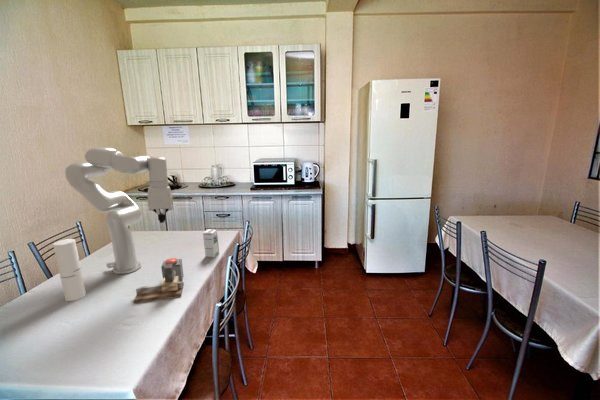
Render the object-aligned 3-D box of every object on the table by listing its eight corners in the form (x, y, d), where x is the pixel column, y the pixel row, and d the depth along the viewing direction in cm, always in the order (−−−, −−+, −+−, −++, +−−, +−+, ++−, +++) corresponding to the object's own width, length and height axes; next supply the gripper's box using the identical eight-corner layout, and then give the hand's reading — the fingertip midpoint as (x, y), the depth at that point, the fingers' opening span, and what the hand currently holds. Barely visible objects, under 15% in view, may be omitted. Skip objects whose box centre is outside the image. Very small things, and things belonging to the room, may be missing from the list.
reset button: (166, 276, 135) (164, 263, 134) (167, 270, 140) (166, 258, 139) (178, 274, 137) (176, 261, 135) (179, 269, 141) (178, 257, 140)
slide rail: (134, 303, 121) (133, 294, 120) (140, 290, 130) (139, 282, 129) (181, 296, 125) (180, 287, 125) (183, 284, 135) (182, 276, 134)
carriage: (162, 292, 125) (159, 270, 123) (164, 285, 131) (161, 264, 128) (177, 290, 127) (174, 268, 124) (179, 283, 132) (176, 262, 130)
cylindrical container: (89, 293, 129) (79, 239, 123) (73, 302, 122) (60, 246, 116) (78, 290, 131) (67, 238, 125) (61, 299, 125) (48, 244, 119)
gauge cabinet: (163, 284, 135) (161, 266, 133) (165, 278, 141) (163, 261, 139) (182, 282, 137) (180, 264, 135) (183, 276, 143) (181, 258, 141)
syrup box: (214, 257, 164) (212, 232, 160) (204, 256, 165) (202, 232, 162) (219, 253, 169) (217, 229, 166) (209, 252, 170) (207, 228, 167)
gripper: (138, 185, 130) (143, 225, 135) (175, 185, 134) (177, 223, 138) (143, 182, 137) (147, 220, 142) (177, 182, 141) (180, 218, 145)
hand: (162, 221), depth 140 cm, fingers closed
